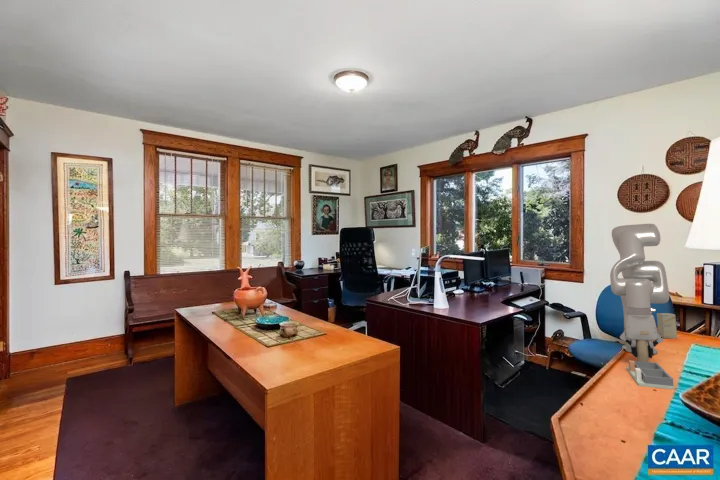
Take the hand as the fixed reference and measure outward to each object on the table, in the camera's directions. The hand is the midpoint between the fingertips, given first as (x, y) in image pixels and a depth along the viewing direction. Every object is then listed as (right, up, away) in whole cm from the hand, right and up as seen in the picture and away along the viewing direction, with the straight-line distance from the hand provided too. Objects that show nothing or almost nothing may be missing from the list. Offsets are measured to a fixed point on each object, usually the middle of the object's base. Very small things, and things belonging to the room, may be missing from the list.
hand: (642, 356), depth 139 cm
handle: (0, -5, 0) cm, 4 cm away
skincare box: (+45, -4, +38) cm, 59 cm away
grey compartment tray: (-7, -4, -12) cm, 14 cm away
